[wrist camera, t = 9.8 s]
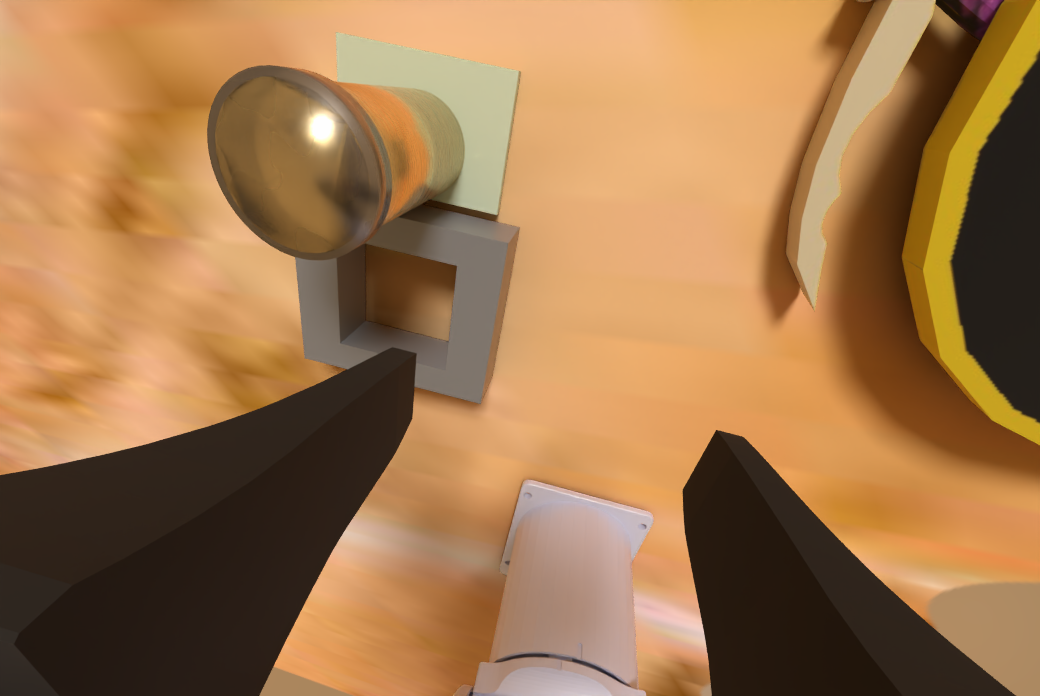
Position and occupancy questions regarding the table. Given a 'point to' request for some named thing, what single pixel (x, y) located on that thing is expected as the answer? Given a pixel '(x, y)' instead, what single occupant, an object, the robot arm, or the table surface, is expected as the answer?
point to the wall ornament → (952, 197)
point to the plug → (327, 156)
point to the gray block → (439, 364)
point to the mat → (464, 89)
